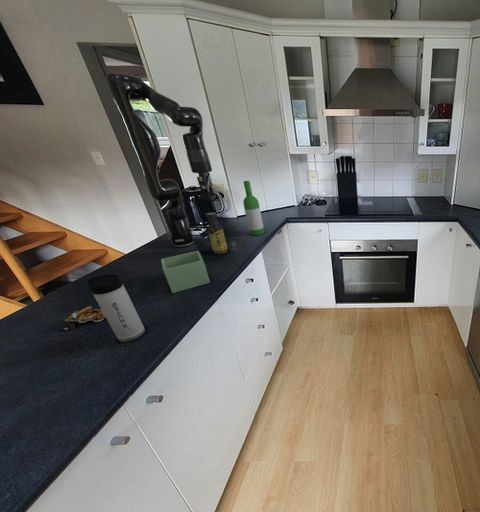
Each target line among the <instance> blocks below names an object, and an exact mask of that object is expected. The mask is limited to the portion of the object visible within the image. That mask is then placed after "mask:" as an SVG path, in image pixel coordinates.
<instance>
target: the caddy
mask: <svg viewBox="0 0 480 512" xmlns="http://www.w3.org/2000/svg"><path fill="white" fill-rule="evenodd" d="M160 261H161V266H162V271H163V273H164V276H165V278H166V281H167V284H168V286H169V288H170V292H171V294H175V293H179V292H182V291H186V290H189V289H192V288H193V289H194V288H196V287H199V286H203V285H207V284H211V280H210V277H209V274H208V270H207V267H206V265H205V261H204V259H203V256H202V255H201V252H200V251H199V250H195V251H191V252H187V253H182V254H177V255H173V256H168V257H164V258H161V259H160Z"/></svg>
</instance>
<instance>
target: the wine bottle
mask: <svg viewBox="0 0 480 512" xmlns="http://www.w3.org/2000/svg"><path fill="white" fill-rule="evenodd" d="M243 186H244V190H245V195H246V196H245V197H244V198H243V202H242V203H243V208H244V213H245V219H246V222H247V227H248V231H249V234H250V235H251V236H261V235H263V234H265V227H264V223H263V216H262V211H261V208H260V203H259V200H258V199H257V197H255V196H254V195H253V191H252V186H251V181H250V180H244V181H243Z"/></svg>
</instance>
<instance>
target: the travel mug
mask: <svg viewBox="0 0 480 512" xmlns="http://www.w3.org/2000/svg"><path fill="white" fill-rule="evenodd" d="M86 282H87V286H88V287H89V289H90V290H91V294H92V295H93V297H94V299H95V301H96V303H97V304H98V306H99V307H100V308H99V309H102V311H103V313H104V315H105V317H106V318H105V319H106V320H107V322H108V324H109V326H110V327H111V329H112V331H113V333H114V334H115V337H116V338H117V340H118V341H119V342H121V343H126V342H131V341H133V340H136V339H138V338H140V337H141V336H143V335H144V333H145V332H146V328H145V326H144V324H143V322H142V320H141V318H140V316H139V314H138V312H137V310H136V308H135V306H134V303H133V302H132V299H131V297H130V295H129V293H128V292H127V289H126V287H125V286H124V283H123V282H122V279H121V277H120V276H119V275H118V274H113V273H112V274H111V273H110V274H103V275H98V276H92V277H90V278H88V279H87V280H86Z"/></svg>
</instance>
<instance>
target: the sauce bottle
mask: <svg viewBox="0 0 480 512" xmlns="http://www.w3.org/2000/svg"><path fill="white" fill-rule="evenodd" d="M205 215H206V217H207V220H208V226H207V233H208V236H209V241H210V245H211V248H212V251H213V253H214V255H223V254H226V253H227V252H228V245H227V244H228V243H227V240H226V235H225V232H224V229H223V227H222V226H221V224H220V223H219V220H218V215H217V212H208V213H206V214H205Z"/></svg>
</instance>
